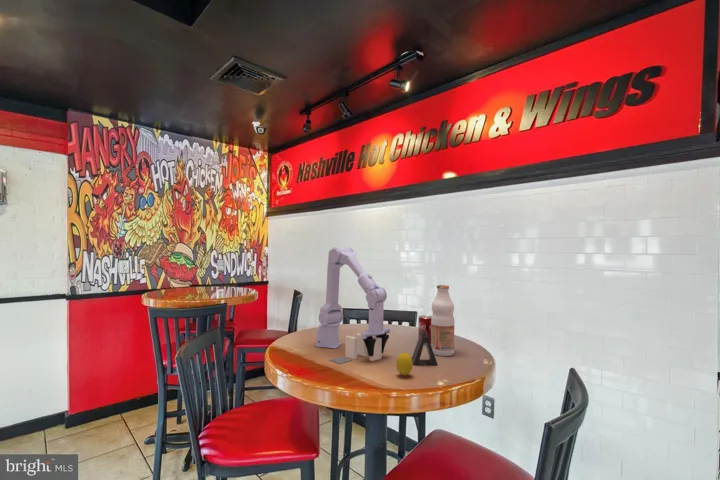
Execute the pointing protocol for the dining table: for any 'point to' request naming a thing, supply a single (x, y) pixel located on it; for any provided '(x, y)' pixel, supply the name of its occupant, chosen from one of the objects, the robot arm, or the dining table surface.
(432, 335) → the fruit juice
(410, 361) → the lemon
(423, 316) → the soda can
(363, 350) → the tile
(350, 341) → the tile
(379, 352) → the tile
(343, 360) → the end marker
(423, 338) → the phone stand
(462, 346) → the dining table surface
